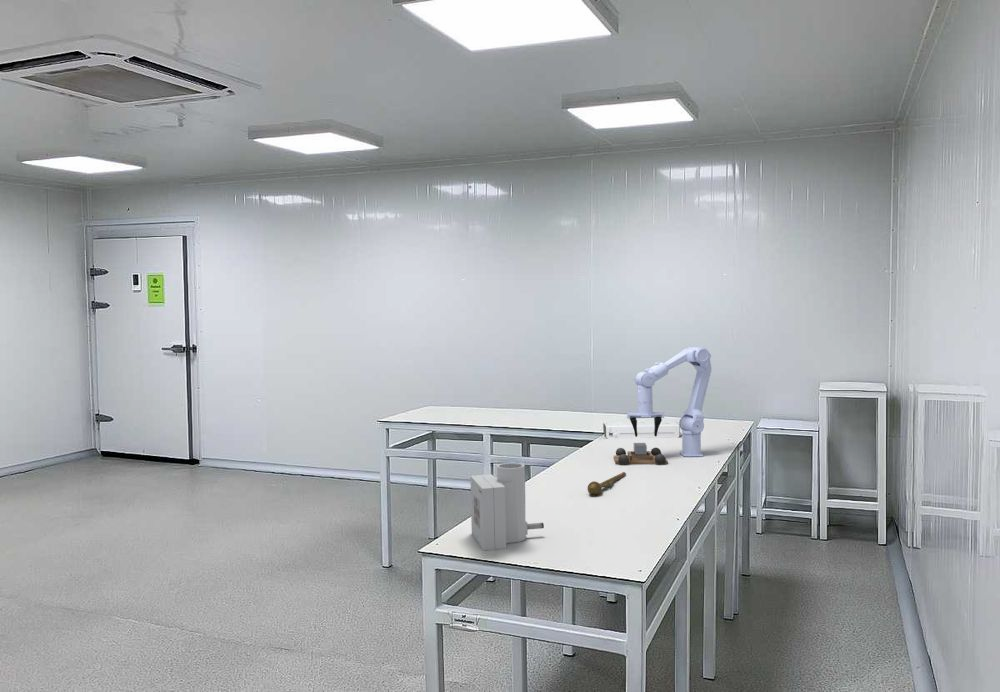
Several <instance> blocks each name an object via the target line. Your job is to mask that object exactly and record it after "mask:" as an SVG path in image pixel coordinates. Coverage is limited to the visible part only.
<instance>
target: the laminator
mask: <svg viewBox="0 0 1000 692" xmlns="http://www.w3.org/2000/svg"><path fill="white" fill-rule="evenodd" d="M602 426H603V428H602V429H603V432H602V433H603V435H604V436H605V438H606V439H607V440H609V439H612V440H614V439H615V440H616V439H617V440H619V439H621V440H622V439H626V440H627V439H676V438H677V439H679V438H680V437H681V428H680V426H679V422H677V421H661V423H660V425H659V428H658V431H657V436H654V429H655V425H654V421H640V422H639V421H637V437H635V432H634V428H633V426H632V423H631V421H630V422H629V421H628V422H627V421H626V422H603V425H602Z"/></svg>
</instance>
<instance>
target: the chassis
mask: <svg viewBox="0 0 1000 692" xmlns="http://www.w3.org/2000/svg"><path fill="white" fill-rule="evenodd" d="M613 461H614V463H615V465H622V466H626V465H658V466H662V465H668V464H669V462H668V459H667V457H666V456H665V455H664V454H662V451H661V449H660V448H658V447H652V448H651V449H650V451H649V450H647V456H634V450H632V451H626V449H624V448H623V447H618V448H617V449H616V450H615V455H613Z"/></svg>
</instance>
